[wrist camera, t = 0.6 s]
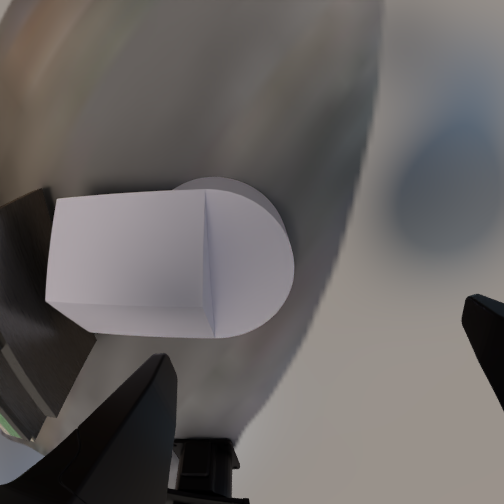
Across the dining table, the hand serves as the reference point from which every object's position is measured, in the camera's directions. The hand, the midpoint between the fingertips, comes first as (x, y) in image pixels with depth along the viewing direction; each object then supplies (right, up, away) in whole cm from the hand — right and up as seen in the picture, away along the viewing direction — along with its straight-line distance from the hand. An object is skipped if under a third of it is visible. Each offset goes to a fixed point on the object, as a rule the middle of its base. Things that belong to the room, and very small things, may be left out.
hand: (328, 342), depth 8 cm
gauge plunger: (-18, +1, +11) cm, 21 cm away
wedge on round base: (-6, +3, +12) cm, 14 cm away
